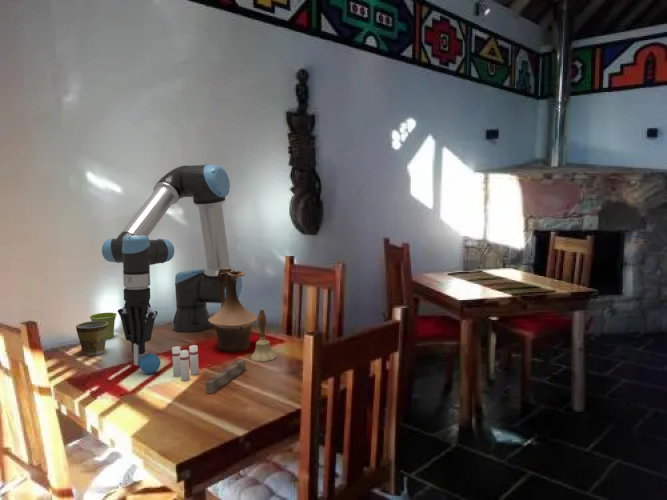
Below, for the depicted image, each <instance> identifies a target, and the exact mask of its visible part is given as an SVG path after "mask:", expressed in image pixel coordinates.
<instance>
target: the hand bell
mask: <svg viewBox="0 0 667 500" xmlns="http://www.w3.org/2000/svg"><path fill="white" fill-rule="evenodd" d="M257 317H258V319H257V320H258V321H257V324H258V327H259V340H257V341H256V342H255V350H254V352H253V354H252V355H251V356H250V359H251V361H254V362H258V363H259V362H262V363H263V362H269V361H273V360H275V359H276V358H277V355H276V353H274V351H273V350H272V347H271V342H270V340H269V339H266V324H267V316H266V313H265V310H264V309H259V312H258V316H257Z"/></svg>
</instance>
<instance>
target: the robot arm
mask: <svg viewBox="0 0 667 500" xmlns="http://www.w3.org/2000/svg"><path fill="white" fill-rule="evenodd" d="M229 178H230V177H229V175H228V173H227V171H226V170H225V169H224V168H223V167H222V166H220V165H217V164H216V165H215V164H195V165H180V166H178V167H175V168H173V169H171V170H170V171H169V172H167V173H165V175H163V176H162V177H161V178H160V179H159V180H158V181H157V182H156V183H155V185H154V187H153V192H152V193H151V194H150V195H149V197H148V198H147V200H146V201H145V203H143V205H142V206H141V207H140V208H139V210H138V211H137V212H136V213H135V215H133V217H132V219H130V221H129V222H128V223H127V225H126V226H125V227H124V229H122V231H121V232H120V234H119V235H118V236H117V237H116V238H108V239H106V240H105V241H104V242H103V244H102V247H101V255H102V257H103V258H104V260H105V261H107V262H109V263H110V262H111V263H118V264H122V267H123V270H122V273H123V274H122V275H123V278H122V279H123V283H122V284H123V287H124V289H123V300H124V306H123V307H122V308H119V309H117V313H118V315H119V317H120V321H121V324H122V329H123V332H124V339H125V340H126V341H128V342H130V344H131V353H132V354H133V365H134V366H139V363H140V359H141V358H142V357H143V356H144V354H146V343H147V342H149V341H151V339H152V334H153V330H154V325H155V320H156V317H157V315H158V311H157V310H155V311H154V310H153V309H152V308H151V304H150V301H151V287H150V286H151V270H150V266H151V265H157V264H158V265H159V264H164V263H166V262H169V261H171V260H172V259H173V257H174V256H175V247H174V244H173V243H172V242H171V241H170V240H169V239H165V238H157V239H150V238H149V236H150V234H151V233H152V232H153V230H154V229H155V228H156V226H157V225H158V223H159V222H160V221H161V219H162V218H163V217H164V216H165V214H166V212H167V211H168V210H169V209H170V208H171V206H172V205H175V204H177V203H178V201H179V200H180V199H183V198H192V200H193V205H195V207H197V208H198V213H199V218H200V219H199V221H200V227H201V234H202V240H203V248H204V253H205V260H206V268H197V269H188V270H183V271H179V272H177V273H176V274H175V276H174V277H175V279H174V281H175V282H174V286H175V303H176V308H175V309H176V310H175V314H174V318H173V321H172V329H173V330H174V331H176V332H183V333H191V332H192V333H193V332H199V331H205V330H207V329H210V328H211V327H212V326H213V324H212V323H210V322H209V321H208V319H209V318H210V317H211V315H210V313H209V309H208V308H207V307H208V306H207V304H220V305H221V303H222V302H221V294H220V288H219V283H218V272H219V270H220V269H222V268H231V272H235V267H234V266H233V265H232V264H231V263H230V256H229V248H228V242H227V234H226V227H225V218H224V211H223V204H224V202H226V197H227V196H228V195H229V192H230V187H231V184H230V179H229ZM223 285H224V293H225V299H226V285H225V282H224V281H223ZM242 289H243V279H242V276H240V277H238V279H237V281H236V292H237V297H238V299H239V298H240V295H241V293H242Z"/></svg>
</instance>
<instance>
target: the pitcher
mask: <svg viewBox="0 0 667 500" xmlns="http://www.w3.org/2000/svg"><path fill="white" fill-rule="evenodd" d="M243 276H245V272H244V271H240V270H237V271H235V272H231V268H222V269H220V270H219V272H218V283H219V288H220V294H221V302H222V303H221V304H220V309H218V311H217V312H215V314H213V315H212V316H210V318H209V319H208V321H209V322H210V323H212V325H213V326H214V328H215V332H216V336H217V342H218V346H217V347H218V349H219V350H220V351H222V352H228V353H229V352H230V353H233V352H234V353H235V352H242V351H245V350H247V349H249V347H250V344H251V343H250V341H251V339H250V338H251V332H252V325H253V323H254V322H256V321H257V320H258V316H257V315H256V314H254V313H253V312H251V311H250V310H248V309H247V308H245V306H243V304H242V303H241V301H240V300H239V298H238V297H237V292H236V281H237V279H238V277H243ZM223 281H224V282H225V285H226V299H225V293H224V285H223Z"/></svg>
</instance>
